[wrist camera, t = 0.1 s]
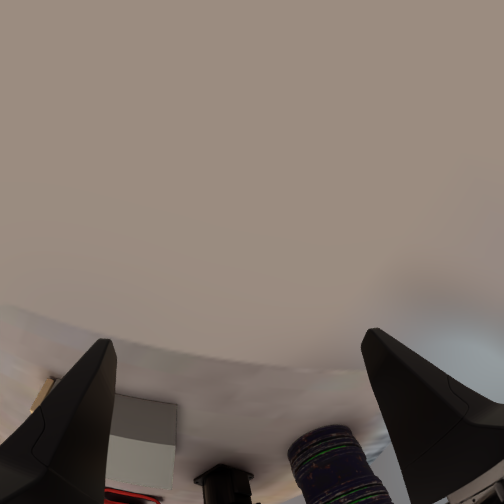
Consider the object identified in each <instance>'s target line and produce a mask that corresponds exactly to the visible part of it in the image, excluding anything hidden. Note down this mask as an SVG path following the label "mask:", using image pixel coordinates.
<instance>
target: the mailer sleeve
mask: <svg viewBox="0 0 504 504" xmlns="http://www.w3.org/2000/svg"><path fill="white" fill-rule="evenodd" d="M60 380H61V379H58V378H57V380H56V382H55V383H54V385H53V387H52V389H51V391H52V390H53V388H54V387H55V386H56V385H57V384H58V383H59V382H60ZM51 391H50V392H51ZM176 415H177V405H176V404H169V403H162V402H156V401H150V400H144V399H138V398H133V397H128V396H123V395H118V394H115V401H114V409H113V415H112V422H111V430H110V437H109V446H108V455H107V465H106V479H110V480H114V481H119V482H124V483H129V484H134V485H139V486H145V487H152V488H159V489H167V490H172V483H173V470H174V458H175V447H176Z"/></svg>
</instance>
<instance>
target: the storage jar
mask: <svg viewBox="0 0 504 504" xmlns="http://www.w3.org/2000/svg"><path fill="white" fill-rule="evenodd" d="M288 459H289V461H290V463H291V468H292V469H291V470H292V473H293V476H294V478H295V481H296V483H297V485H298V487H299V488H300V489H301V490H302V493H303V496H304V498H305V501H306V504H394V503H392V502H391V501H392V500H391V498H390V496H389V494H388V491H387V490H386V488H385V487H384V486H383V484H382V481H381V480H380V479H379V478H378V477H377V476H375V475H374V473H373V471H372V470H371V468H370V466H369V464H368V463H367V461H366V456H365V454H364V452H363V450H362V447H361V446H360V444H359V442H358V441H357V440H356V439H355V437H354V436H353V435H352V432H351V430H350V429H349V428H348V427H346V426H343V425H329V426H324V427H321V428H318V429H315V430H313V431H311V432H309V433H307V434H305V435H303V436H302V437H300V438H299V439H298V440H296V441H295V442H294V443H293V444H292V446H291V447H290V448H289V450H288Z"/></svg>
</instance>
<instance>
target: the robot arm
mask: <svg viewBox="0 0 504 504" xmlns="http://www.w3.org/2000/svg"><path fill="white" fill-rule="evenodd" d="M361 352H362V355H363V358H364V362H365V366H366V370H367V373H368V377H369V380H370V384H371V387H372V389H373V392H374V395H375V397H376V400H377V402H378V405H379V408H380V411H381V413H382V416H383V419H384V422H385V424H386V427H387V430H388V433H389V436H390V439H391V442H392V444H393V447H394V450H395V453H396V456H397V459H398V462H399V465H400V469H401V470H402V471H401V472H402V475H403V479H404V482H405V485H406V488H407V492H408V495H409V498H410V502H411V504H433V503H435V502H437V501H439V500H441V499H442V498H445V497H447V499H448V501H449V502H447V503H446V504H504V404H499V403H496V402H493V401H491V400H489V399H488V398H486V397H484V396H482V395H480V394H478V393H477V392H475V391H473V390H472V389H470V388H468V387H466V386H464V385H463V384H461V383H460V382H458V381H457V380H455V379H454V378H452V377H451V376H449V375H447V374H446V373H445V372H443V371H442V370H440V369H439V368H438V367H436V366H434V365H433V364H432V363H430V362H429V361H427V360H426V359H424V358H423V357H421V356H420V355H418V354H417V353H415V352H414V351H412V350H411V349H409V348H408V347H406V346H405V345H403V344H402V343H400V342H399V341H398V340H396V339H395V338H393V337H392V336H390V335H388V334H387V333H386V332H384V331H383V330H381V329H380V328H371V329H368V330H367V332H366V334H365V337H364V339H363V341H362V343H361ZM116 369H117V356H116V353H115V350H114V346H113V343H112V341H111V340H110V339H102V338H100V339H98V340H97V341H96V342H95V343H94V344H93V345H92V347H91V348H90V349H89V350H88V351H87V352H86V353H85V354H84V355H83V356H82V357H81V358H80V359H79V361H78V362H77V363H76V364H75V365H74V366H73V367H72V368H71V369H70V370H69V372H68V373H67V374H66V375H65V376H64V377H63V378H62V379H61V380H60V382H59V383H58V384H57V385H56V386H55V387H54V388H53V390H52V391H51V392H50V393H49V394H48V395H47V396H46V398H45V399H44V400H43V401H42V402H41V403H40V405H39V406H38V407H37V408H36V409H35V410H34V411H33V413H32V414H31V415H30V416H29V417H28V418H27V419H26V420H25V422H24V423H23V424H22V425H21V426H20V427H19V428H18V429H17V430H16V431H15V432H14V433H13V434H11V435H10V436H9V437H8V438H7V439H6V440H5V441H4V442H3V443H2V444H1V445H0V504H104V493H105V478H106V465H107V455H108V446H109V437H110V430H111V422H112V415H113V409H114V401H115V384H116ZM253 478H254V475H253V474H250V473H246V472H243V471H240V470H237V469H234V468H231V467H228V466H225V465H217V466H216V467H214V468H212V469H211V470H209V471H208V472H206V473H204V474H203V475H201V476H199V477H198V478H196V479H194V483H195V484H197V485H201V486H202V488H203V499H204V504H252V501H251V497H250V496H252V493H251V488H250V484H249V480H251V479H253ZM256 504H261V503H256Z"/></svg>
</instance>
